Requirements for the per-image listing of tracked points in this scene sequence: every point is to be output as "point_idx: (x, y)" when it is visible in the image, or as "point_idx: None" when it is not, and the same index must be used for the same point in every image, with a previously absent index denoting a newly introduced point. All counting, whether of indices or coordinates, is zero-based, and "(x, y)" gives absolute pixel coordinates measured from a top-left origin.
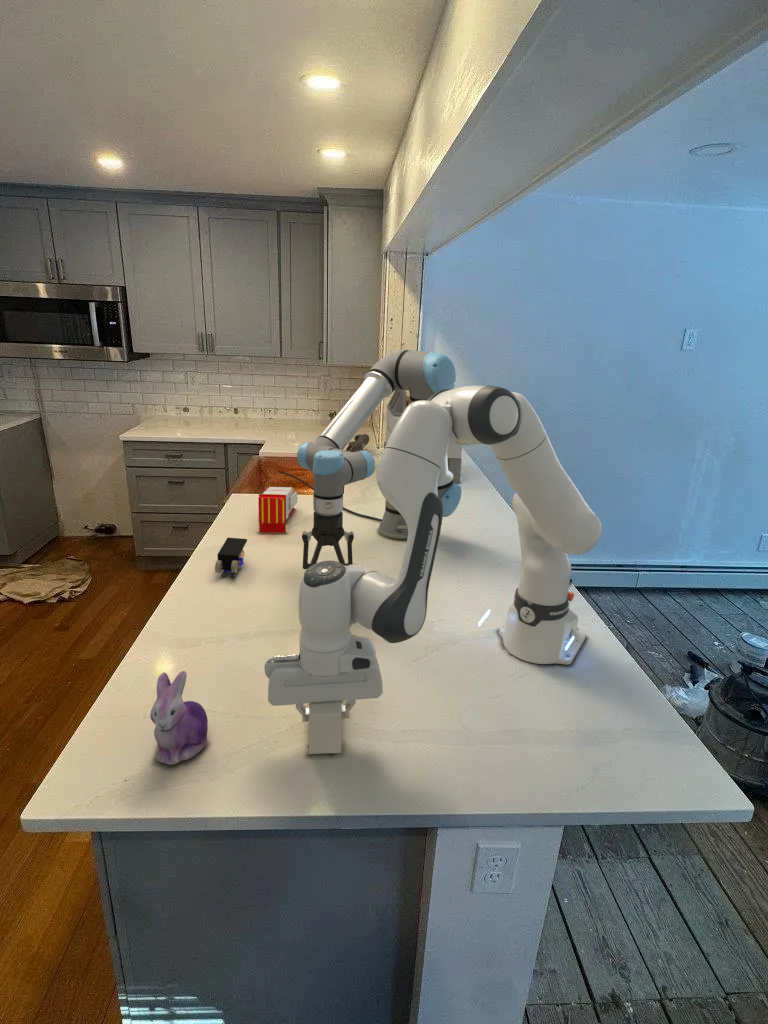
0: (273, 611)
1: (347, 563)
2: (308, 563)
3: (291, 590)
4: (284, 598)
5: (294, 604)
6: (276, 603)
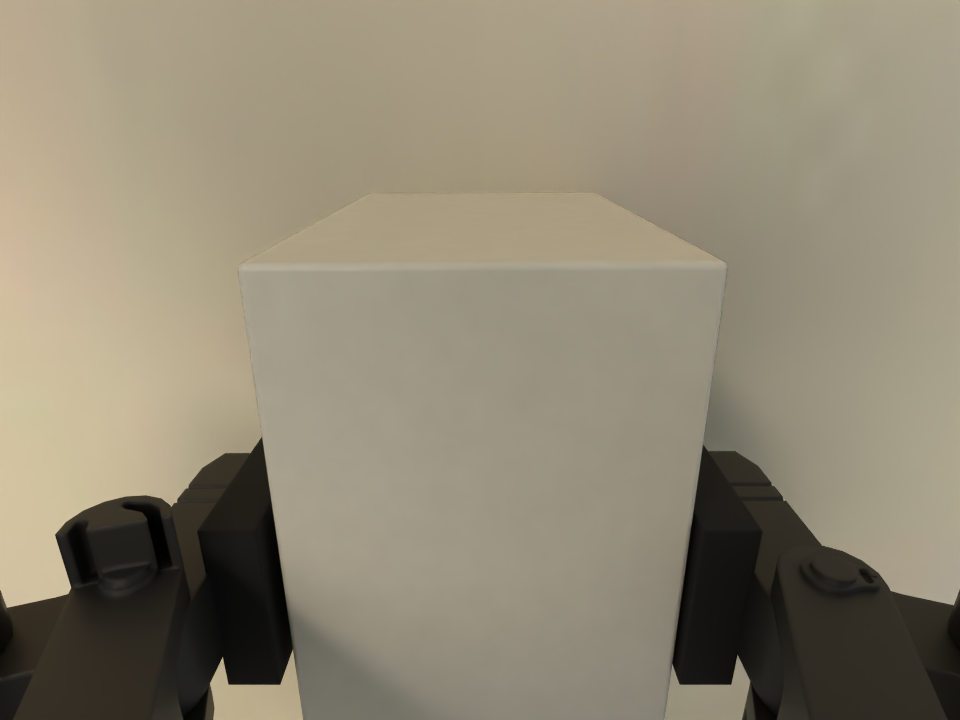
0: (32, 584)
1: (957, 699)
2: (11, 687)
3: (62, 203)
4: (47, 378)
5: (177, 483)
6: (6, 466)
